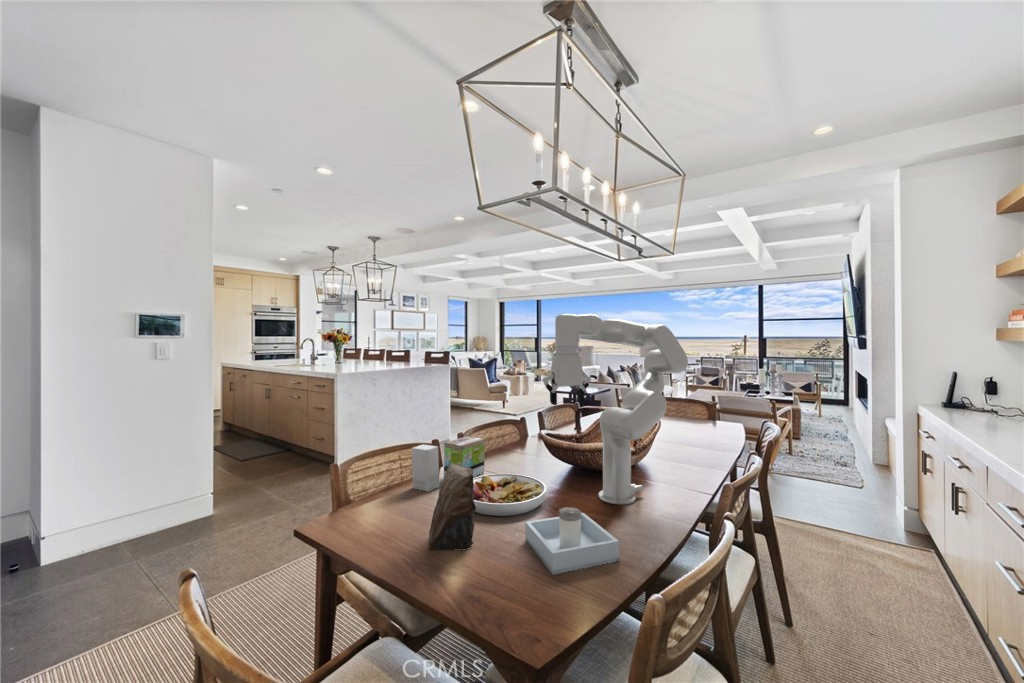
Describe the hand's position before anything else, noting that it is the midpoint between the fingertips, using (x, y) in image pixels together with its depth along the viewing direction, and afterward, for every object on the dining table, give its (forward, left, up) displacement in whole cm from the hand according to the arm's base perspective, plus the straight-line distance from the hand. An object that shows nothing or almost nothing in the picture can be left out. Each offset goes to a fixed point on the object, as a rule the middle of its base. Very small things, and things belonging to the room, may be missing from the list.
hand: (567, 403), depth 135 cm
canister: (+12, +25, -33) cm, 43 cm away
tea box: (+25, -44, -35) cm, 61 cm away
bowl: (+18, -13, -35) cm, 42 cm away
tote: (+12, +25, -34) cm, 44 cm away
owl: (+41, +10, -34) cm, 55 cm away
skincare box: (+42, -35, -34) cm, 65 cm away
